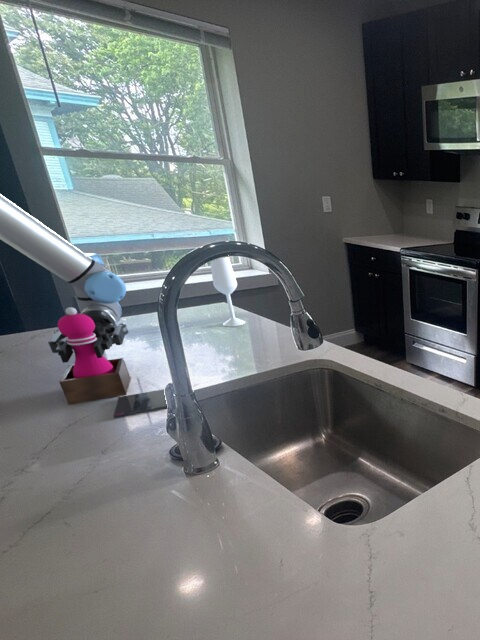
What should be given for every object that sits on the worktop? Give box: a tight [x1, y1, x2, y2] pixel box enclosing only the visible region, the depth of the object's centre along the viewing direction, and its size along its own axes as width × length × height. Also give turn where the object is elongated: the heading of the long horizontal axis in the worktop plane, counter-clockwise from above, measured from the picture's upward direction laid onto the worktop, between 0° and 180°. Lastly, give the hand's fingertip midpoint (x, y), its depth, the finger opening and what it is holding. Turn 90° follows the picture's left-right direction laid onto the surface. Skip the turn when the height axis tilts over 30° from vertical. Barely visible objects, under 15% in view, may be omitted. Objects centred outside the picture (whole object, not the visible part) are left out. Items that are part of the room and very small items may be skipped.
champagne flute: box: [209, 256, 246, 327], centre depth 150 cm, size 7×7×24 cm
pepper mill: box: [57, 306, 115, 378], centre depth 104 cm, size 7×7×20 cm
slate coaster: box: [113, 388, 168, 419], centre depth 104 cm, size 10×10×1 cm
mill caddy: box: [58, 357, 131, 405], centre depth 108 cm, size 10×10×6 cm
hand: (80, 354), depth 100 cm, fingers closed on pepper mill, 5 cm apart
